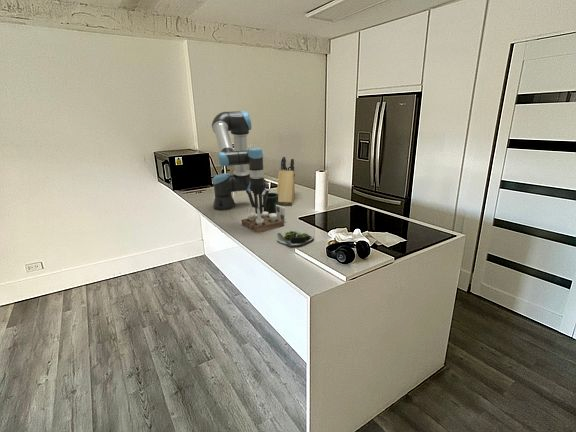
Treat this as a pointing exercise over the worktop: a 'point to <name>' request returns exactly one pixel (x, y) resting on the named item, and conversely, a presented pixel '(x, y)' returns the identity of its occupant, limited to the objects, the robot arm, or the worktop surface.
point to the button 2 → (259, 222)
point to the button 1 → (251, 217)
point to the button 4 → (273, 217)
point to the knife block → (286, 183)
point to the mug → (271, 202)
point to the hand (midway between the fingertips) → (259, 218)
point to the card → (280, 213)
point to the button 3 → (264, 215)
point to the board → (266, 225)
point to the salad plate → (295, 238)
